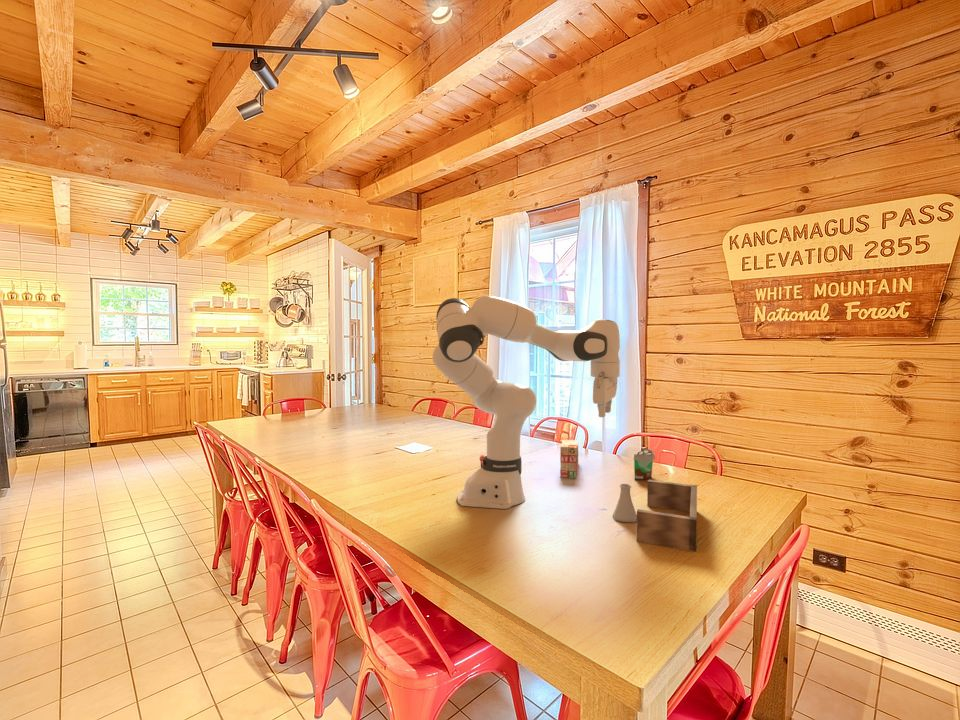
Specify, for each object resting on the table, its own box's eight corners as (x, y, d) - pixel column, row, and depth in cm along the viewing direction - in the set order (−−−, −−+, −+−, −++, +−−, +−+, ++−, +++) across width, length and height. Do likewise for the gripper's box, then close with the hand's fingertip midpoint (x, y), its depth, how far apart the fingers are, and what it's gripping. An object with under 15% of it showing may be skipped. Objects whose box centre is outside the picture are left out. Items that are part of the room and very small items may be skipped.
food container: (650, 483, 165) (651, 456, 165) (633, 481, 168) (633, 454, 168) (657, 475, 176) (657, 449, 175) (641, 472, 179) (641, 447, 178)
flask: (638, 515, 136) (638, 482, 135) (637, 524, 129) (637, 490, 129) (613, 512, 138) (613, 480, 138) (611, 521, 132) (611, 487, 131)
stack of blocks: (563, 463, 194) (563, 434, 194) (578, 463, 193) (578, 435, 192) (560, 477, 173) (560, 446, 173) (576, 479, 172) (576, 447, 171)
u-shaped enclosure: (636, 541, 118) (636, 511, 118) (647, 504, 145) (648, 479, 144) (696, 551, 112) (696, 520, 112) (696, 511, 139) (697, 485, 138)
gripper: (609, 373, 132) (609, 420, 132) (620, 369, 150) (620, 410, 151) (587, 373, 134) (587, 419, 135) (601, 368, 153) (600, 409, 153)
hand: (604, 414), depth 143 cm, fingers open, 8 cm apart
